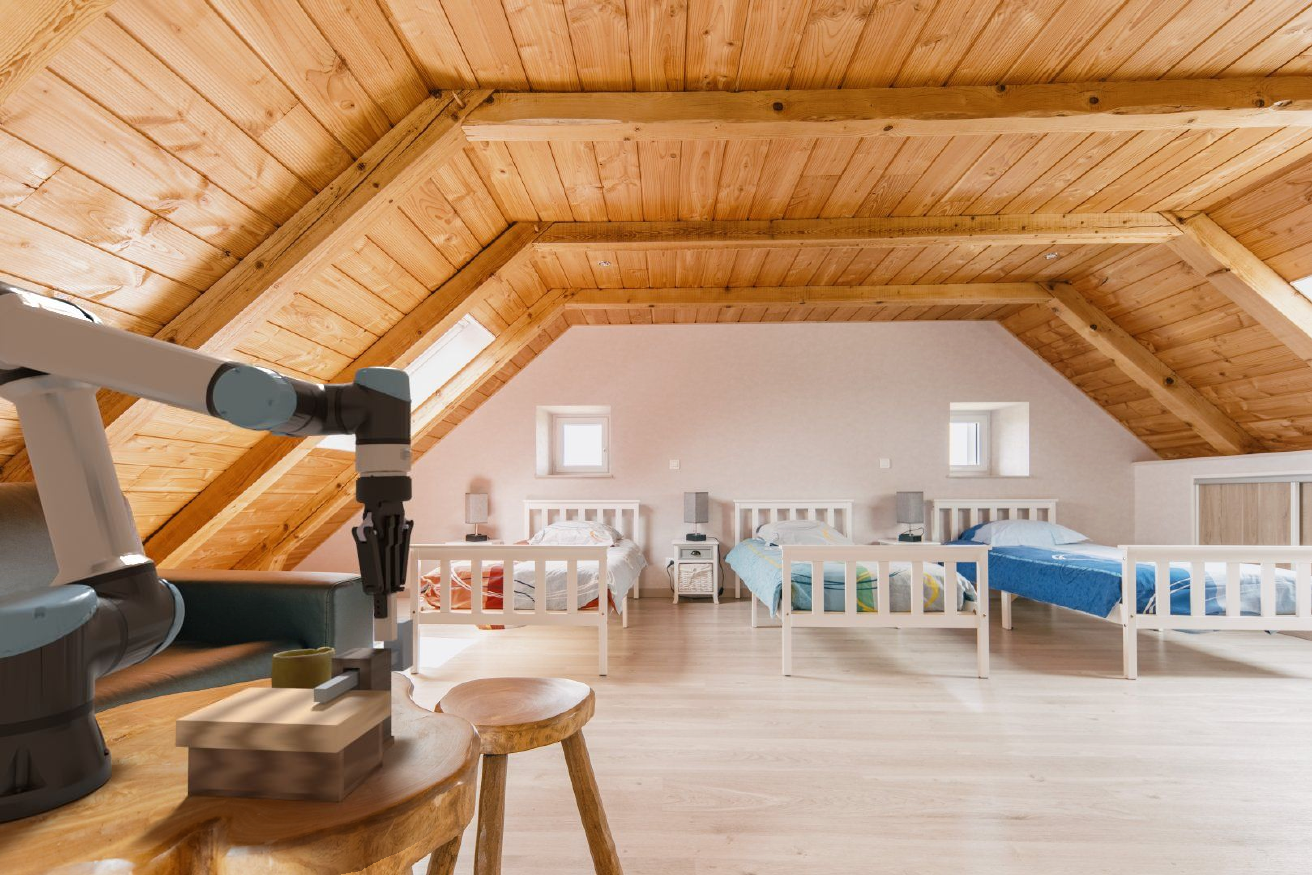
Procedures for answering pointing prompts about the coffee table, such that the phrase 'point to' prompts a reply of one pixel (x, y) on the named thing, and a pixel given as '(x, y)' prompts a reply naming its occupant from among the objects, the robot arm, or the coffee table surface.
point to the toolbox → (301, 753)
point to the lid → (284, 720)
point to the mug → (302, 668)
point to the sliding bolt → (351, 678)
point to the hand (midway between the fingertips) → (385, 639)
